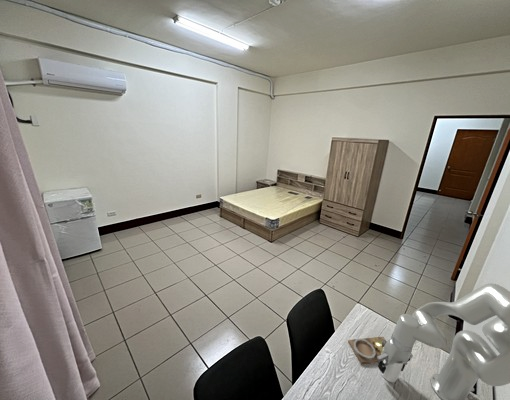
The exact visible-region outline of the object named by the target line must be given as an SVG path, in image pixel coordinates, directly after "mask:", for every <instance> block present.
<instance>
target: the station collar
mask: <svg viewBox="0 0 510 400" xmlns="http://www.w3.org/2000/svg"><path fill="white" fill-rule="evenodd" d="M357 342H363V343H366V344H367V345H368V346H370V348H371V349H372V351H373V355H372V356H365V355H363V354H362V353H360V352H359V351H358V349H357V347H356V343H357ZM353 344H354V349H355V351H356V353H357V354H358V355H359V356H361V357H362V358H364V359H367V360H371V359H373V358H374V357H375V355H376V353H375V349H374V347H373V346H372V345H371V344H370V343H369V342H368V341H366V340H364V338H356V340H355V341H354V343H353Z"/></svg>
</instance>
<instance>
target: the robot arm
mask: <svg viewBox="0 0 510 400" xmlns="http://www.w3.org/2000/svg"><path fill="white" fill-rule="evenodd" d="M444 315H446V316H447V315H449V316H454V317H457V318H459V319H461V320H463V321H464V322H466V323H467V324H469V325H472V326H477V325H479V324H481V323H483V322H485V321H487V320H489V321H488V322H486V323H484V324H483V326H482V328H481V330H482V332H483V334H484V336H485V337H486V339H487V340H488V341H489V342H490V344H491V345H492V346H493V347H494V349H495V350H496V351H497V352H498V353H499V354H498V355H497V354H496V352H495V351H494V349H493V348H492V347H491V346H490V345H489V343H488V342H487V341H486V340H485V339H484V338H483V337H482V336H481V335H479V334H478V333H477V332H475V331H472V330H468V329H463V330H460V331H458V332H457V333H456V334H455V335H454V337H453V341H452V346H451V350H450V352H449V355H448V356H447V358H446V360H445V362H444V364H443V366H442V367H441V369H440V372H439V373H435V374H433V375H431V377H430V385H431V388H432V389H433V391H434V392H435V394H436V395H437V396H438V397H439V398H440V399H441V400H469V398H468V395H469V394H470V392H475V388H474V386H475V384H476V383H477V382H478V380H480V381H481V382H482V383H484V384H486V385H488V386H490V387H491V386H492V387H502V386H506V385H509V384H510V291H509V290H508V289H507V288H506V287H503V285H502V286H501V285H500V284H497V283H491V282H490V283H485V284H483V285H481V286H480V287H477V288H476V289H474V290H473V291H470V292H469V293H467V294H465V295H464V296H462V297H460V298H458V299H457V300H455V301H452V302H451V301H450V302H448V301H433V302H432V301H431V302H427V303H426V304H423V305H422V306H420V307H418V308H417V309H415V310H414V312H413V313H412V314H409V313H403V314H401V315H399V318H398V319H397V322H396V324H395V326H394V329H393V331H392V334H391V337H390V339H389V340H387V343H386V344H385V346H384V348H383V350H382V352H381V355H380V356H378V357H377V359H378V361H379V362H378V365H377V367H378V369H379V372H380V373H381V372H382V374H384V372H385V370H386V366H387V365H388V364H389V365H393V364H395V363H396V362H397V363H399V362H403V367H402V369H401V371H400V372H403V371H404V369H405V367H406V365H408V362H410V361H411V359H412V358H413V357H414V354H413V353H412V351H413V348H414V345H415V343H416V341H418V342H419V343H422V344H424V345H426V346H428V347H431V348H433V349H443V348H446V346H447V343H448V342H447V337H446V336H445V334H444V333H443V331H442V329H441V328H440V326H439V325H438V323H437V321H435V319H437V318H439V317H441V316H444ZM492 318H493V319H492ZM490 319H491V320H490ZM386 358H387V359H386ZM384 359H385V361H386V363H385V364H384V362H383V360H384ZM382 374H381V375H382Z"/></svg>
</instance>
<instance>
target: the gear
mask: <svg viewBox="0 0 510 400" xmlns="http://www.w3.org/2000/svg"><path fill="white" fill-rule="evenodd" d="M378 337H379V336H377V337H376V338H375V340H374V339H373V341H372V343H373V344H374V349H375V350H378V351H379V352H380V353H379V354H381V352H382V350H383V348H384V346H385V344H386V343H387V342H388V341H387V340H386V339H383V338H382V339H379V338H378ZM385 340H386V341H387V342H386V341H385Z"/></svg>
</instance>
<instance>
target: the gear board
mask: <svg viewBox="0 0 510 400" xmlns="http://www.w3.org/2000/svg"><path fill="white" fill-rule="evenodd" d="M377 337H378V338H379V339H382V338H383V339H385V337H384V336H377ZM375 338H376V337H375V336H374V337H366V338H363V339H364V340H366V341H368V342H369V343H370V344H371V345H372V346H373V347H374V344H373V343H372V341H373V339H374V340H375ZM356 339H357V338H356ZM356 339H355V338H354V339H348V345H349V347H350V348H351V350H352V352H353V353H354V355H355V357H356V359H357V360H358V362H359V364H360V365H367V364H369V365H370V364H376V363H379V361H378V359H377V357H378V356H380V355H381V354H379V353H380V352H379V351H378V350H375V353H376V355H375V357H374V358H373V359H371V360H367V359H364V358H362V357H361V356H359V355H358V354H357V353H356V351H355V349H354V344H353V343H354V341H355V340H356ZM385 341H386V342H388V340H386V339H385ZM356 347H357V349H358V351H359V352H360V353H362V354H363V355H365V356H372V355H373V351H372V349H371V348H370V346H368V345H367V344H366V343H363V342H357V343H356ZM383 361H384V360H383Z"/></svg>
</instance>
